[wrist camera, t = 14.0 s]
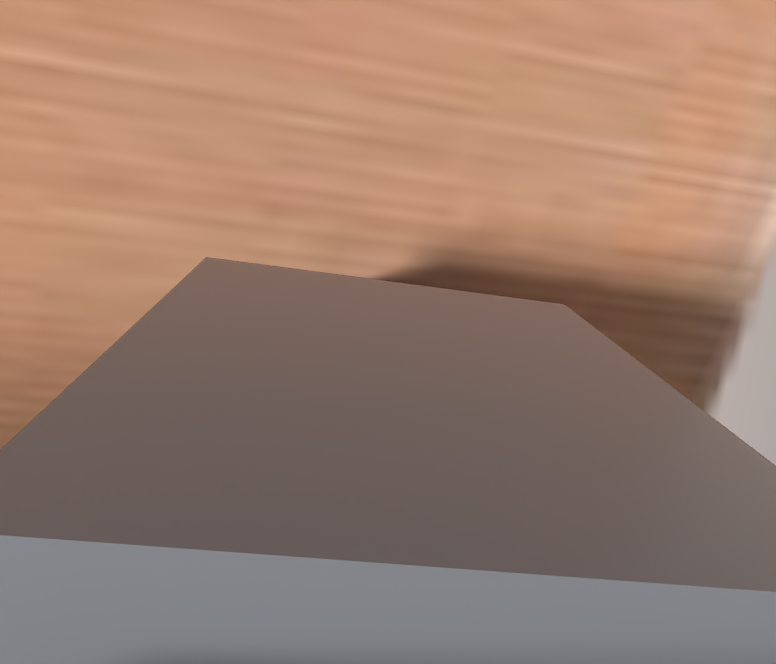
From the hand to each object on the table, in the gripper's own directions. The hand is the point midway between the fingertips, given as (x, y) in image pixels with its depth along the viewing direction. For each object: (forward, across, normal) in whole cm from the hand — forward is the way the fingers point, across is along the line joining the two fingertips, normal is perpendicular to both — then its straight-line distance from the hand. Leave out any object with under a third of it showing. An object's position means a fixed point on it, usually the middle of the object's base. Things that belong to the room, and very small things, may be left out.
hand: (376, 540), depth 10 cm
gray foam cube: (+4, 0, 0) cm, 4 cm away
